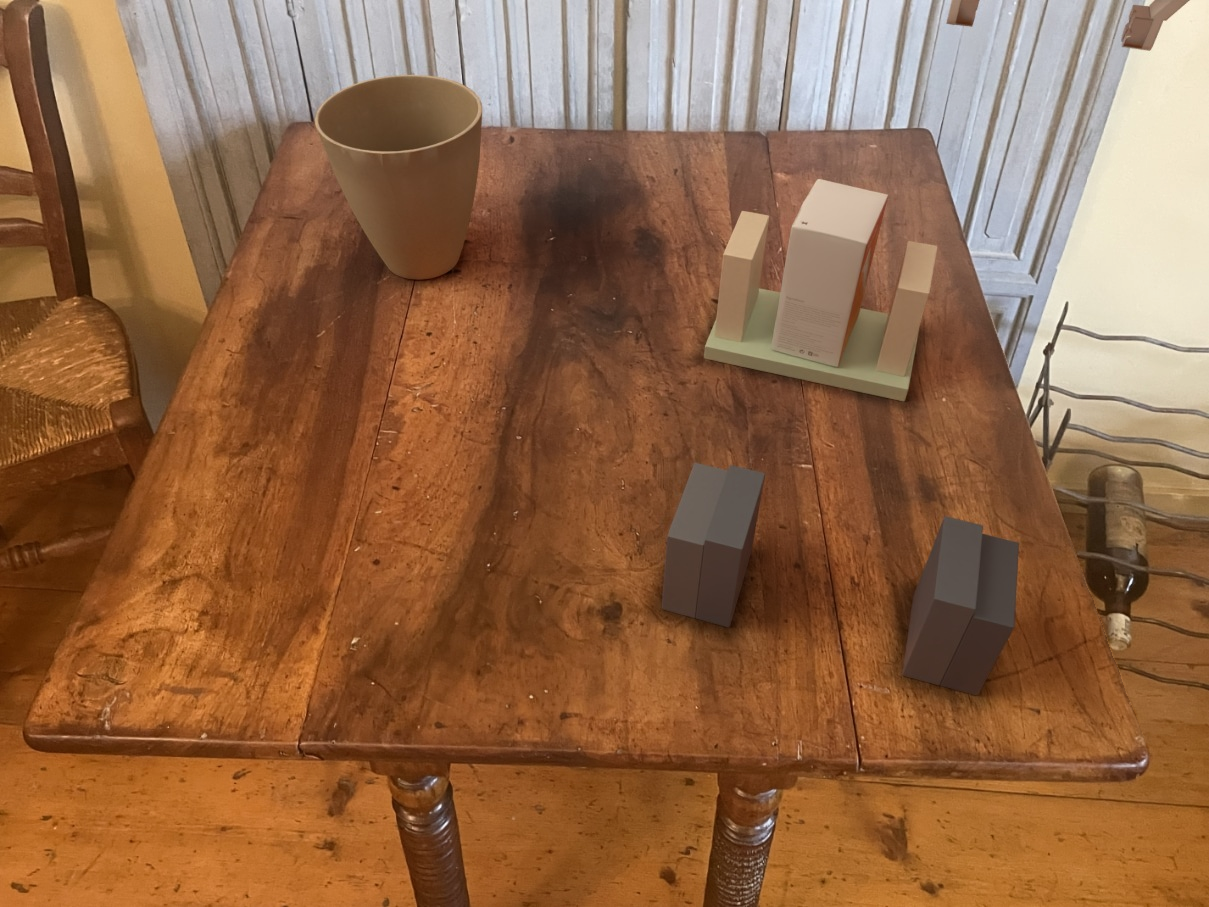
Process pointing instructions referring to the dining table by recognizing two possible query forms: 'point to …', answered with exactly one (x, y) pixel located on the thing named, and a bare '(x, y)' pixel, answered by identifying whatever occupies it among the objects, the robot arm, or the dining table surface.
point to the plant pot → (407, 166)
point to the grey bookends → (942, 603)
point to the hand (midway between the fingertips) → (1045, 33)
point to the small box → (827, 270)
